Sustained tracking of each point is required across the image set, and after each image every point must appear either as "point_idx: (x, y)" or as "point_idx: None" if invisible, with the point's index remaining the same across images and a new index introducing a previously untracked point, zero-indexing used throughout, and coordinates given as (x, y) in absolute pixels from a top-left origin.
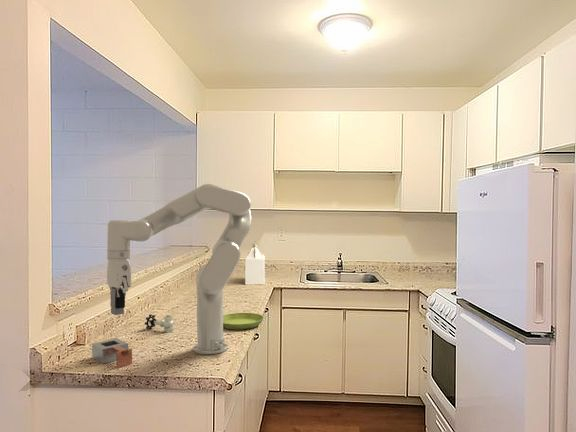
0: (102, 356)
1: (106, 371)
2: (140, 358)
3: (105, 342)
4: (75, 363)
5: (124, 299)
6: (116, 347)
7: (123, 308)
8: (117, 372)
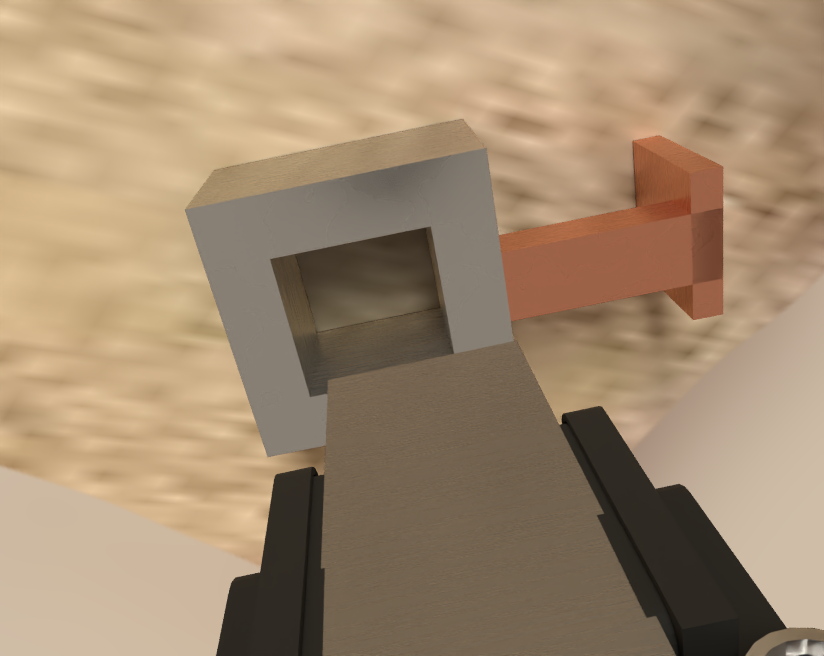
0: None
1: (679, 346)
2: (564, 18)
3: (295, 346)
4: None
5: (689, 549)
6: (549, 288)
7: (546, 403)
8: (761, 284)
